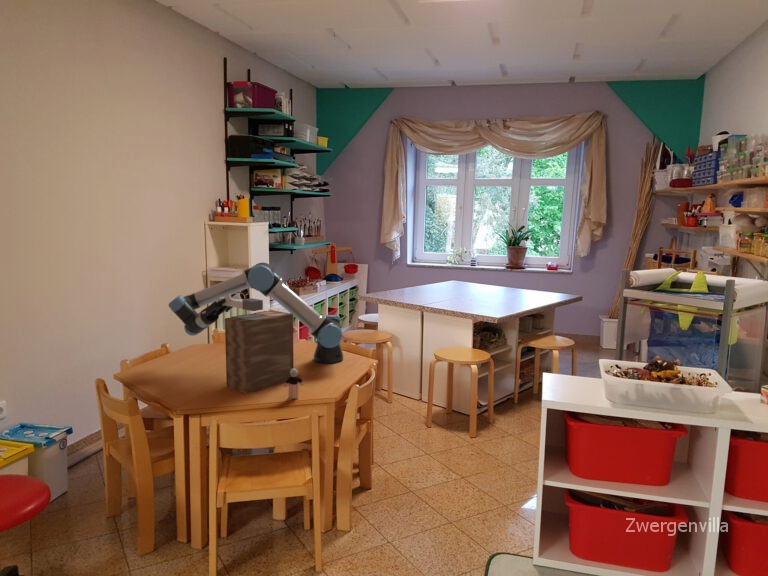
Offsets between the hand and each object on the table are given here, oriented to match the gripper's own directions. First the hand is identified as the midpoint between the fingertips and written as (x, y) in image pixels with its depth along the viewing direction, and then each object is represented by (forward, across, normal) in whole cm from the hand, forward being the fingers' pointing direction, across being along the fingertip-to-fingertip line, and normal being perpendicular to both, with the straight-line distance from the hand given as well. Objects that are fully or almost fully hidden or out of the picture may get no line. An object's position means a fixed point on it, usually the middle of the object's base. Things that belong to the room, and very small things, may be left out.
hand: (234, 296), depth 241 cm
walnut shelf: (-11, -6, -38) cm, 40 cm away
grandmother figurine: (+11, -1, -51) cm, 52 cm away
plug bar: (+1, 0, -5) cm, 5 cm away
